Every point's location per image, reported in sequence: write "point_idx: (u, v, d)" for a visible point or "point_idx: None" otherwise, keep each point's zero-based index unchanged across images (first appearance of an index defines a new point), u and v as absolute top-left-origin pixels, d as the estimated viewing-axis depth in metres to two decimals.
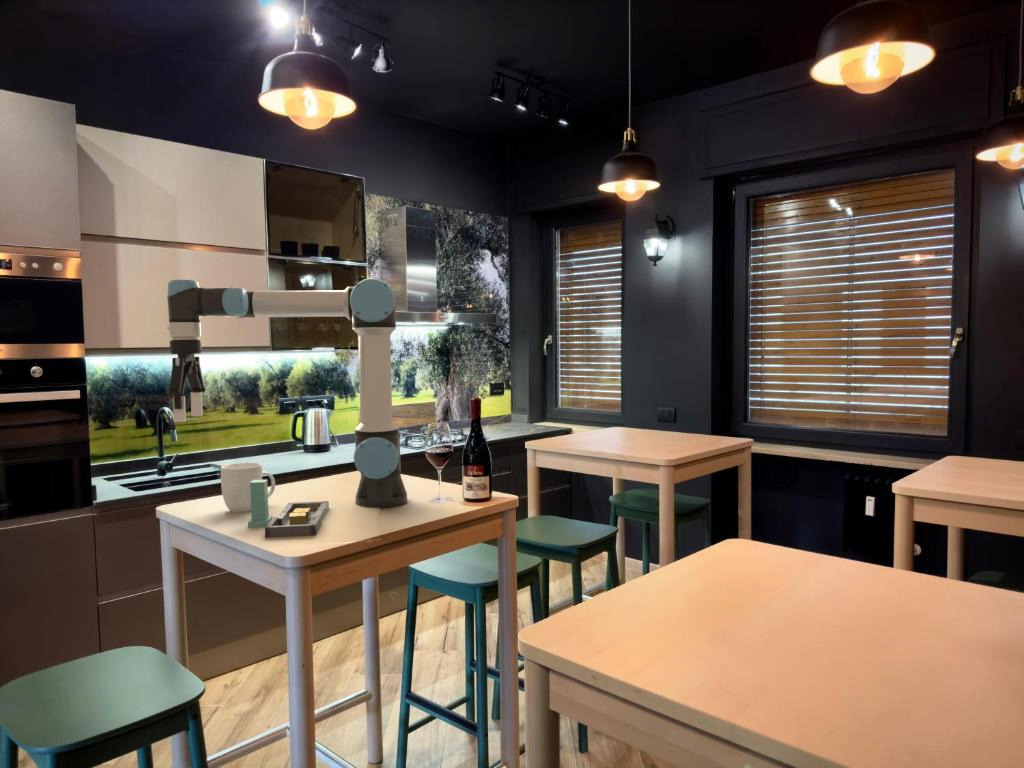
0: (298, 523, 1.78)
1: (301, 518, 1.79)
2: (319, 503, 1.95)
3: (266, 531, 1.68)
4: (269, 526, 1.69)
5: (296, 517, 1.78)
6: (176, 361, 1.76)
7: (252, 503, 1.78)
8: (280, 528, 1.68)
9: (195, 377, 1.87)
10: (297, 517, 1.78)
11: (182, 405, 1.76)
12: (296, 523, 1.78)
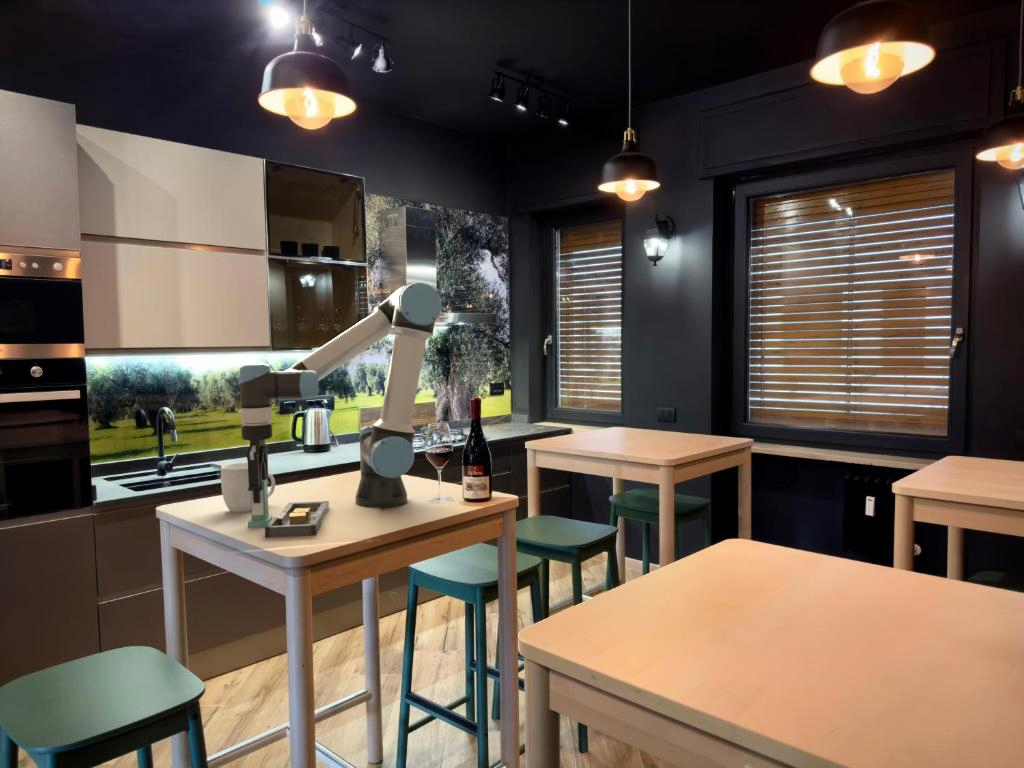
0: (298, 523, 1.78)
1: (301, 518, 1.79)
2: (319, 503, 1.95)
3: (266, 531, 1.68)
4: (269, 526, 1.69)
5: (296, 517, 1.78)
6: (250, 456, 1.73)
7: None
8: (280, 528, 1.68)
9: (263, 465, 1.81)
10: (297, 517, 1.78)
11: (260, 498, 1.77)
12: (296, 523, 1.78)
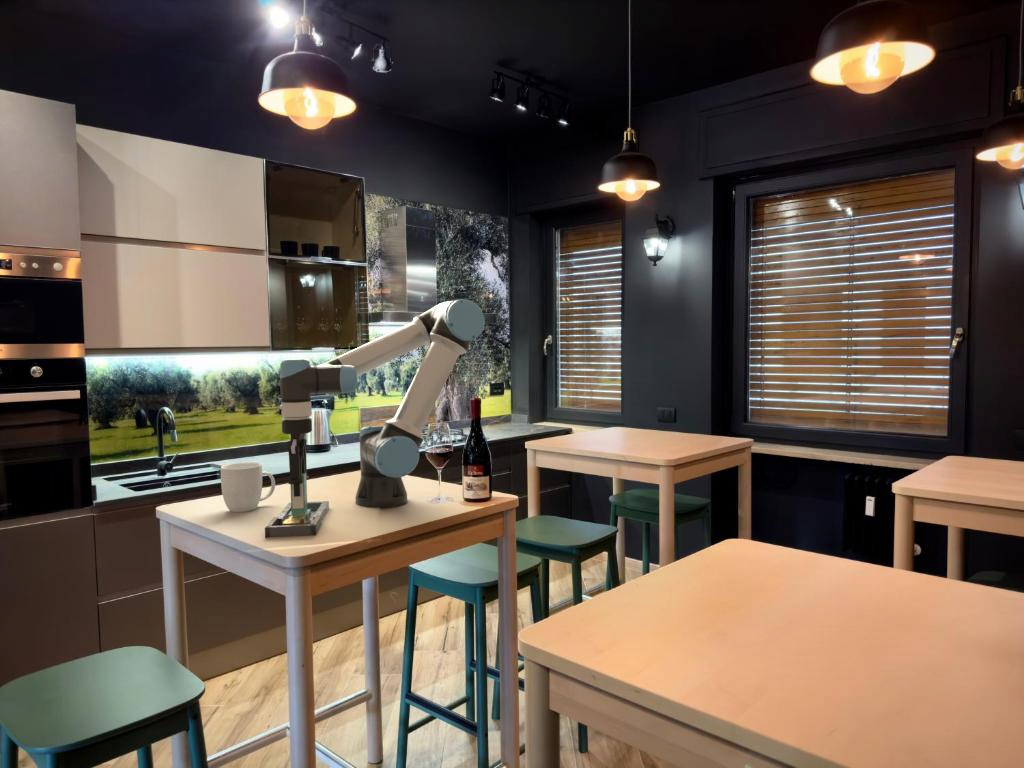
0: None
1: None
2: (319, 503, 1.95)
3: (266, 531, 1.68)
4: (269, 526, 1.69)
5: (289, 524, 1.71)
6: (292, 450, 1.74)
7: None
8: (280, 528, 1.68)
9: (302, 459, 1.83)
10: (290, 524, 1.71)
11: (300, 492, 1.79)
12: None
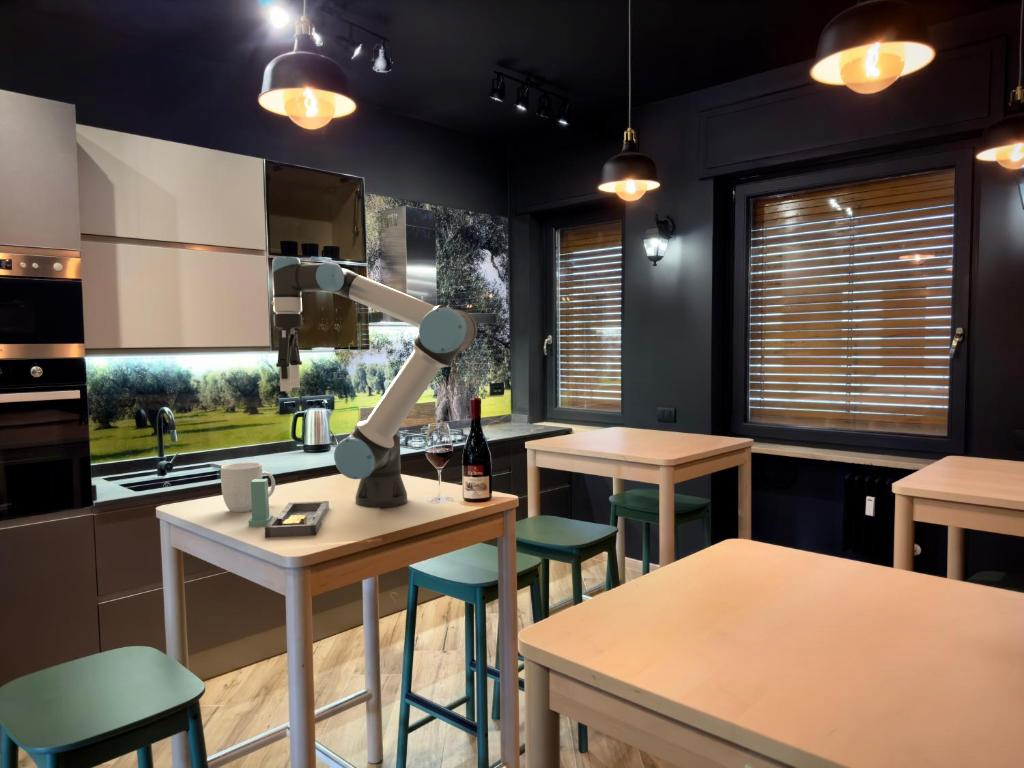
0: None
1: None
2: (319, 503, 1.95)
3: (266, 531, 1.68)
4: (269, 526, 1.69)
5: (289, 524, 1.71)
6: (282, 333, 1.86)
7: (253, 502, 1.79)
8: (280, 528, 1.68)
9: (294, 350, 1.97)
10: (290, 524, 1.71)
11: (288, 375, 1.86)
12: None
